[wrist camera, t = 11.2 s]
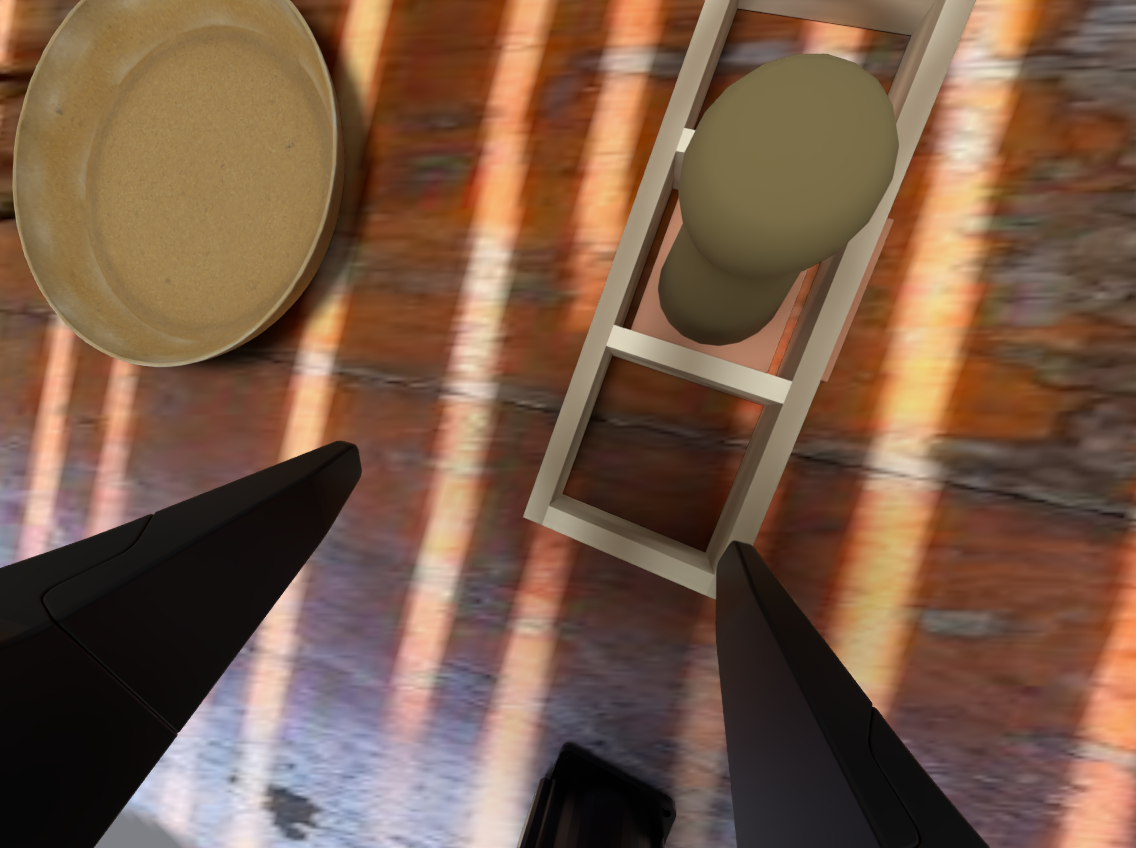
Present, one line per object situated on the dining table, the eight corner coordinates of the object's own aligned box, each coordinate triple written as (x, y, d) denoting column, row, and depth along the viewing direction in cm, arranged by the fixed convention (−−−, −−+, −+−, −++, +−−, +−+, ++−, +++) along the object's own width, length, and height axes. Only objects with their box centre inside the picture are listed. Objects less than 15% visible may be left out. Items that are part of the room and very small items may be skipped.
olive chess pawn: (813, 293, 19) (1021, 138, 8) (704, 370, 20) (767, 319, 10) (735, 197, 20) (836, -62, 9) (634, 277, 21) (616, 129, 10)
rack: (954, 17, 18) (1012, -60, 15) (725, 581, 21) (737, 609, 18) (724, -16, 20) (737, -90, 17) (539, 503, 22) (523, 517, 20)
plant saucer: (447, 120, 24) (414, 72, 20) (246, 444, 27) (191, 448, 24) (183, -59, 27) (120, -123, 24) (36, 247, 30) (-38, 226, 27)
